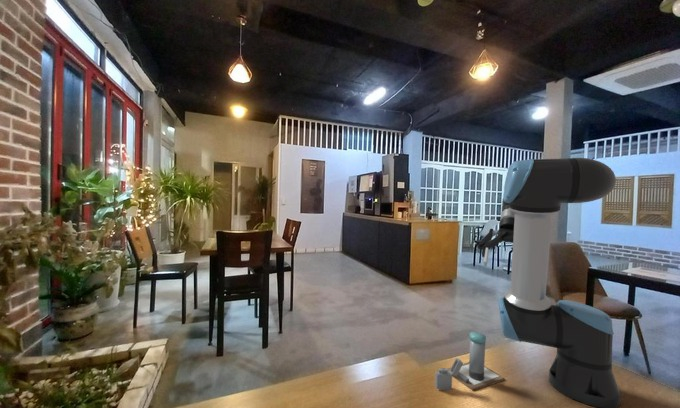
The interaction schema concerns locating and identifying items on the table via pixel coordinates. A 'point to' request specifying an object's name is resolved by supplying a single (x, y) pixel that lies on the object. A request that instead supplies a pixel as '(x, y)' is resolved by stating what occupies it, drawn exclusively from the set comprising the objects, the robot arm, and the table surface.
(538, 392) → the table surface
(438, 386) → the lighter
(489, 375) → the clipboard
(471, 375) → the grey teal cylinder
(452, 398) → the table surface
